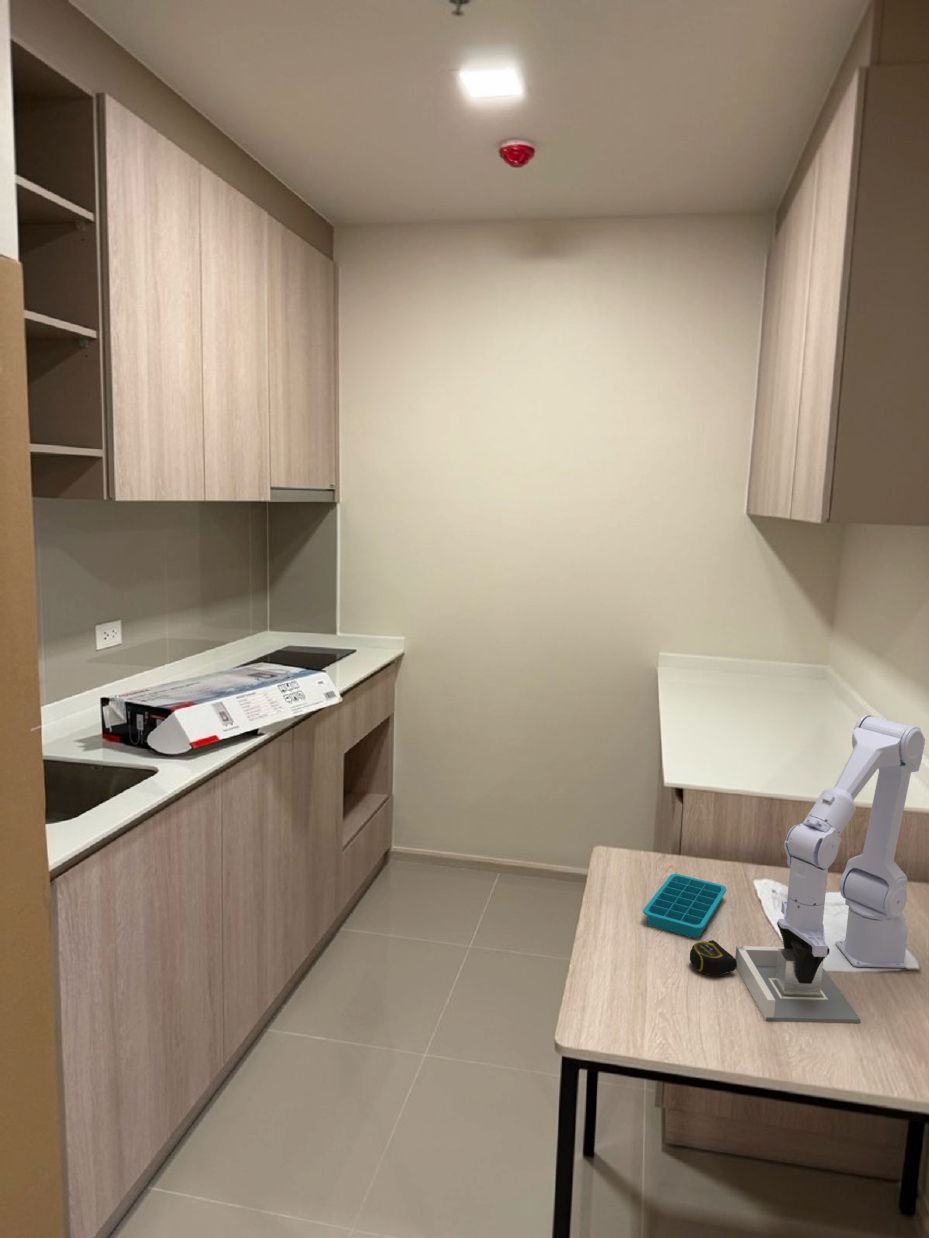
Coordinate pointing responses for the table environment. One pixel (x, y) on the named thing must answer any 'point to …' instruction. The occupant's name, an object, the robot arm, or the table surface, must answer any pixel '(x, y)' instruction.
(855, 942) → the robot arm
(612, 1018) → the table surface
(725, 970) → the tape measure
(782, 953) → the aluminium block
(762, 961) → the tray
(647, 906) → the ice cube tray
